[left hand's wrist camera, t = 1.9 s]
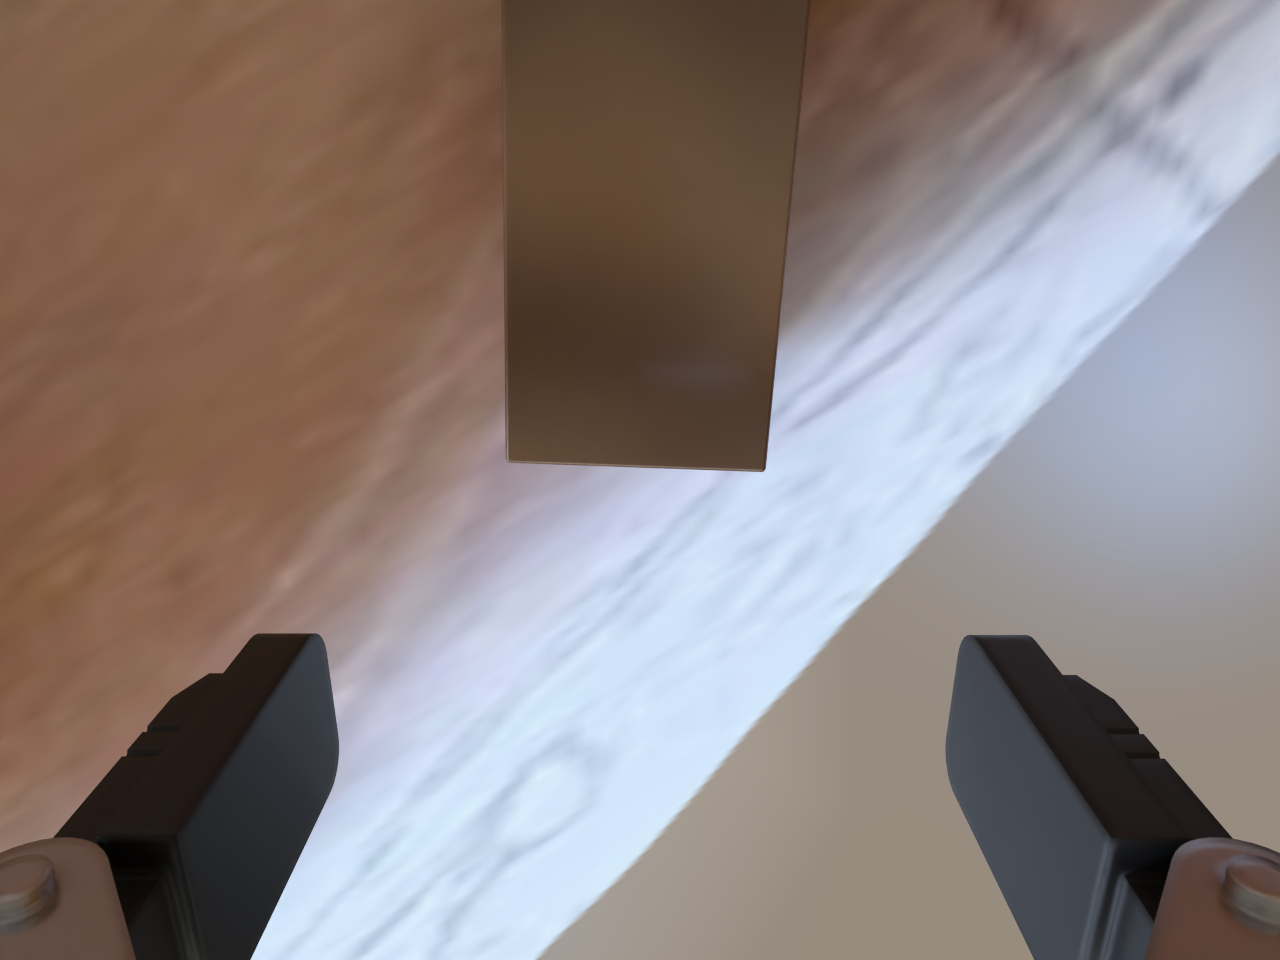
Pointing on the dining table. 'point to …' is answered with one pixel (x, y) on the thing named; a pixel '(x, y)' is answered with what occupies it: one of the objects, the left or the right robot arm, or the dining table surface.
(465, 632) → the dining table surface
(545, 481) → the dining table surface
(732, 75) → the bar
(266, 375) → the dining table surface
